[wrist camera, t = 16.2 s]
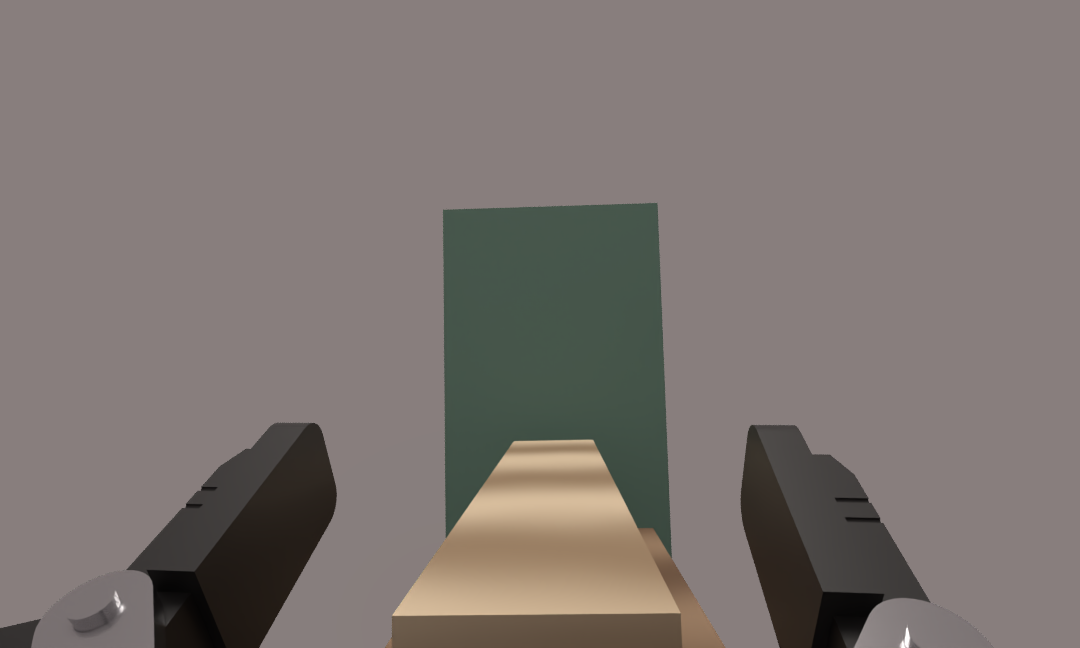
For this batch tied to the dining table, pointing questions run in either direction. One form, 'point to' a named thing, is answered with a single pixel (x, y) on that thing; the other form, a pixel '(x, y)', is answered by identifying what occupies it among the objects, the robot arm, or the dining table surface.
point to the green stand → (556, 345)
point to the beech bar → (542, 564)
